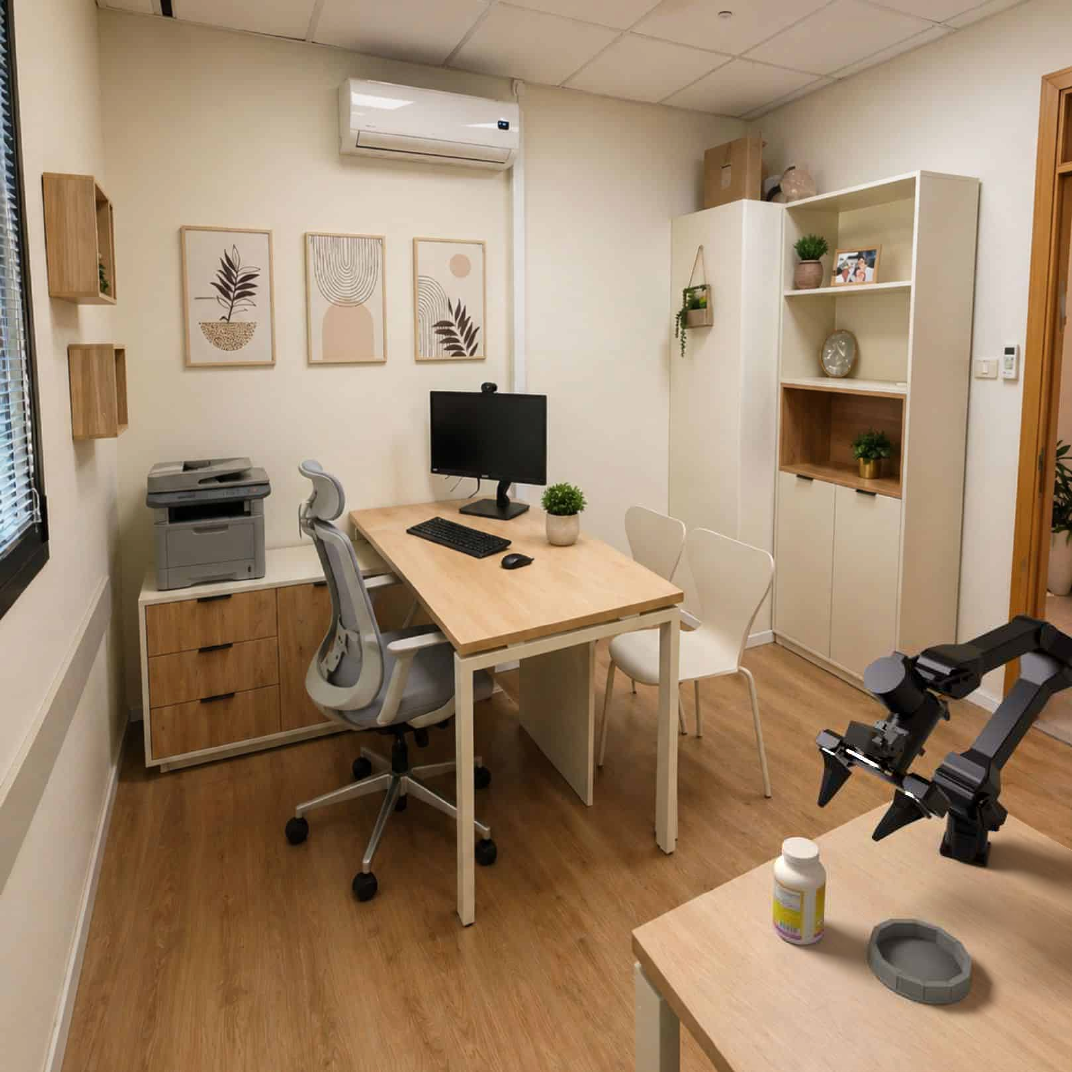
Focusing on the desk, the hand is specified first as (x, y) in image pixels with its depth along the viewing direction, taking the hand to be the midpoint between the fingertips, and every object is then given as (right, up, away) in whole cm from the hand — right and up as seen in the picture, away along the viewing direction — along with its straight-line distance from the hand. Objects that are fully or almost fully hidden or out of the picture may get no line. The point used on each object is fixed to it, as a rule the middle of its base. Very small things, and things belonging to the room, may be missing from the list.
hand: (845, 822), depth 112 cm
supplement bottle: (-7, -15, 0) cm, 16 cm away
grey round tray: (+6, -16, -7) cm, 19 cm away
